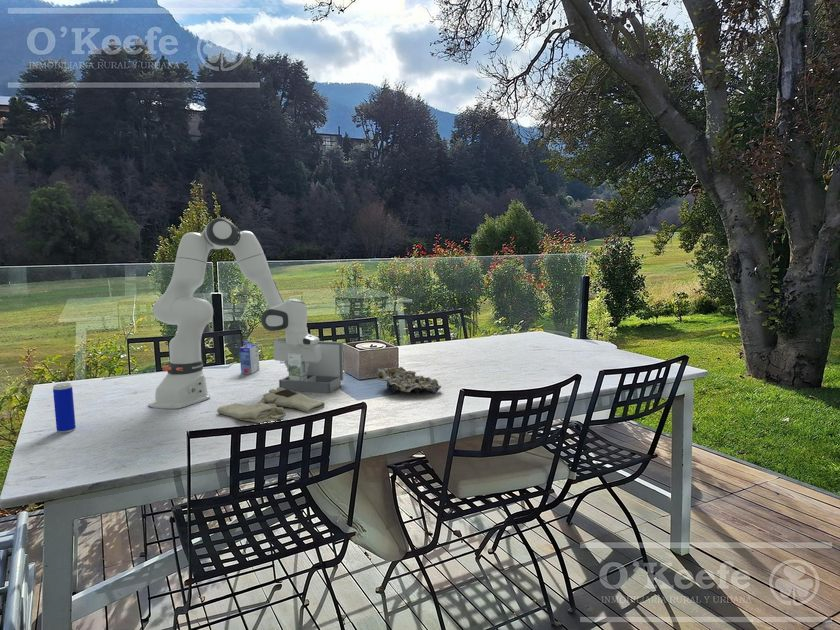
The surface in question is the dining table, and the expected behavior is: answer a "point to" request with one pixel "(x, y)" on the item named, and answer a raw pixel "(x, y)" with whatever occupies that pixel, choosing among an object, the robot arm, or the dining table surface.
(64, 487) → the dining table surface
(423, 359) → the dining table surface
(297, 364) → the syrup box
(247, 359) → the ink cartridge box
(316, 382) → the equipment case
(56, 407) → the beverage can
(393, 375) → the decorative rock
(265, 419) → the pair of gloves
